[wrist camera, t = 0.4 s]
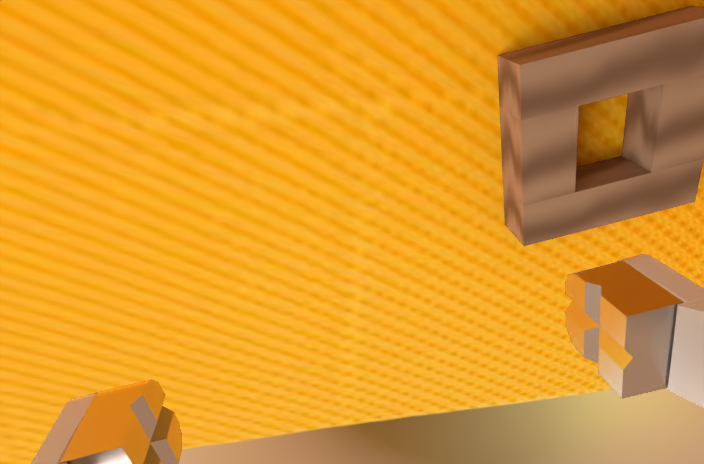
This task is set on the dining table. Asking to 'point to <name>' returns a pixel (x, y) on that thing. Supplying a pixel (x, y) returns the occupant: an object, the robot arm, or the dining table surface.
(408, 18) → the dining table surface
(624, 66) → the socket block
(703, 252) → the dining table surface
